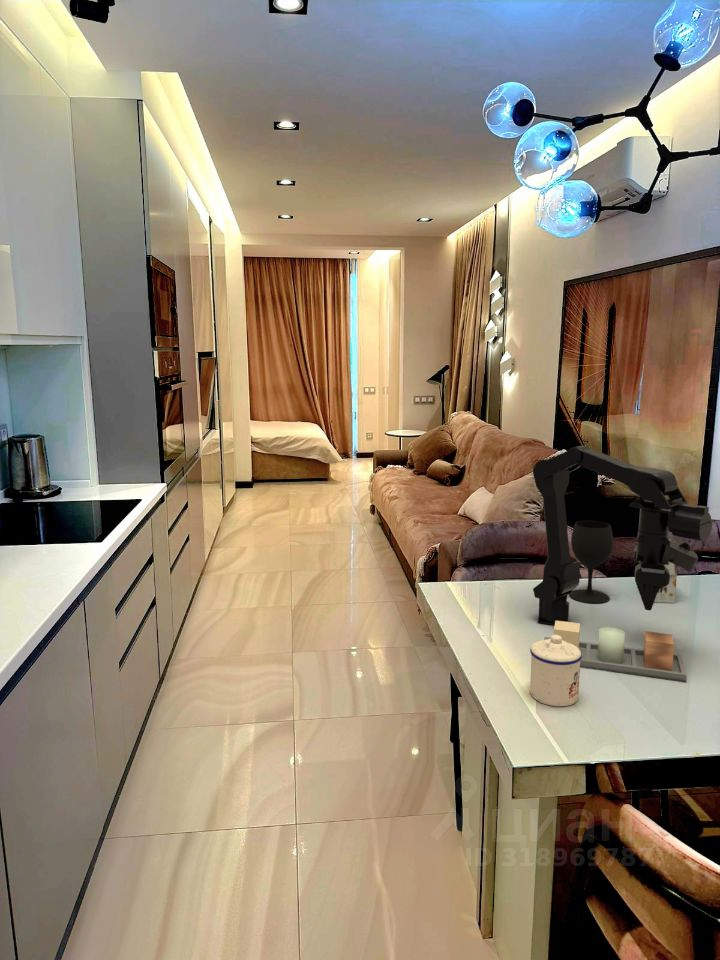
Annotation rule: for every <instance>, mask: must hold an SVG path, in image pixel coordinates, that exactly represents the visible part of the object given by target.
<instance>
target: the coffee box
mask: <svg viewBox="0 0 720 960" xmlns="http://www.w3.org/2000/svg"><path fill="white" fill-rule="evenodd" d="M668 536H669V535H668ZM669 540H670V543H673V544H674V543H675V544H678V543H679V542H677V540H675V539H674V538H672V537H671V536H669ZM664 566H665V567H666V568H667V569H668V570H669V573H670V581H669V584H668V585H667V586H666V587H662V588H661V589H659V590H658V593H657V595H656V598H655V601H654V603H665V604H666V603H670V604H674V603H676V602H675V601H676V594H677V593H676V592H677V578H678V566H677V565H675V564H673V563H671V562H669V565H664Z"/></svg>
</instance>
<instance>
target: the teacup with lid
mask: <svg viewBox="0 0 720 960" xmlns="http://www.w3.org/2000/svg"><path fill="white" fill-rule="evenodd" d="M550 638H551V639H547V640H544V639H542V640H537V641H535V642H534V643H532V644H531V646H530V649H529V652H530V655H531V657H530V682H529V683H530V685H529V691H530V695H531V696H532V697H533V698H534V699H535V700H537V701H538V702H539V703H542V704H545V705H547V706H552V707H566V706H571V705H574V704H575V703H576V702H577V701H579V694H580V693H579V692H580V671H581V669H580V668H581V667H580V660H581V658H582V654H581V652H580V650H579V649H578V648H577V647H576V646H575V645H573V644H571V643H568V642H565V641H563V640H562V637H561V636H559V635H554V634H552V635H550Z"/></svg>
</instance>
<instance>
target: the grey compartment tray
mask: <svg viewBox="0 0 720 960" xmlns="http://www.w3.org/2000/svg"><path fill="white" fill-rule="evenodd" d="M580 632H581V623H578V622H572V621H570V622H569V621H567V622H564V621H555V625H554V627H553V635H559V636H561V637H562V640H563V641H565V642H568V643H571V644H573V645H575V646H576V647H577V648H578V649H579V650H580V652H581V654H582V658H581V660H580V668H584V669H589V668H592V669H591V670H596V669H599V671H603V670H606V671H605V672H610V671H611V673H618V674H626V675H632V676H638V677H639V676H640V677H645V678H646V677H647V678H652V679H660V680H667V681H673V682H679V683H680V682H681V683H687V678H688V677H687V676H688V675H687V671H686V667H685V664H684V661H683V656H682V654H679V653H673V667H672V671H666V670H659V669H651V668H644V661H643V654H644V649H640V648H634V647H626V646H625V642H626V639H625V638H626V632H625V631H624V630H622V629H620V628H618V627H614V626H613V627H611V626H603V627H600V628H599V629H598V643H594V642H585V641H581V640H580ZM547 639H551V636H550V637H548V636H544V639H543V640H547Z"/></svg>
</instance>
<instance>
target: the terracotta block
mask: <svg viewBox="0 0 720 960" xmlns="http://www.w3.org/2000/svg"><path fill="white" fill-rule="evenodd" d="M643 638H644V639H643V640H644V642H643V650H644V654H643V661H644V668H651V669H659V670H666V671H672V667H673V654H675V652H674V651H675V650H674V649H675V643H674V638H673V634H671V633H670V634H669V633H663V632H662V633H661V632H654V631H647V630H646V631H644V637H643Z"/></svg>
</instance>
